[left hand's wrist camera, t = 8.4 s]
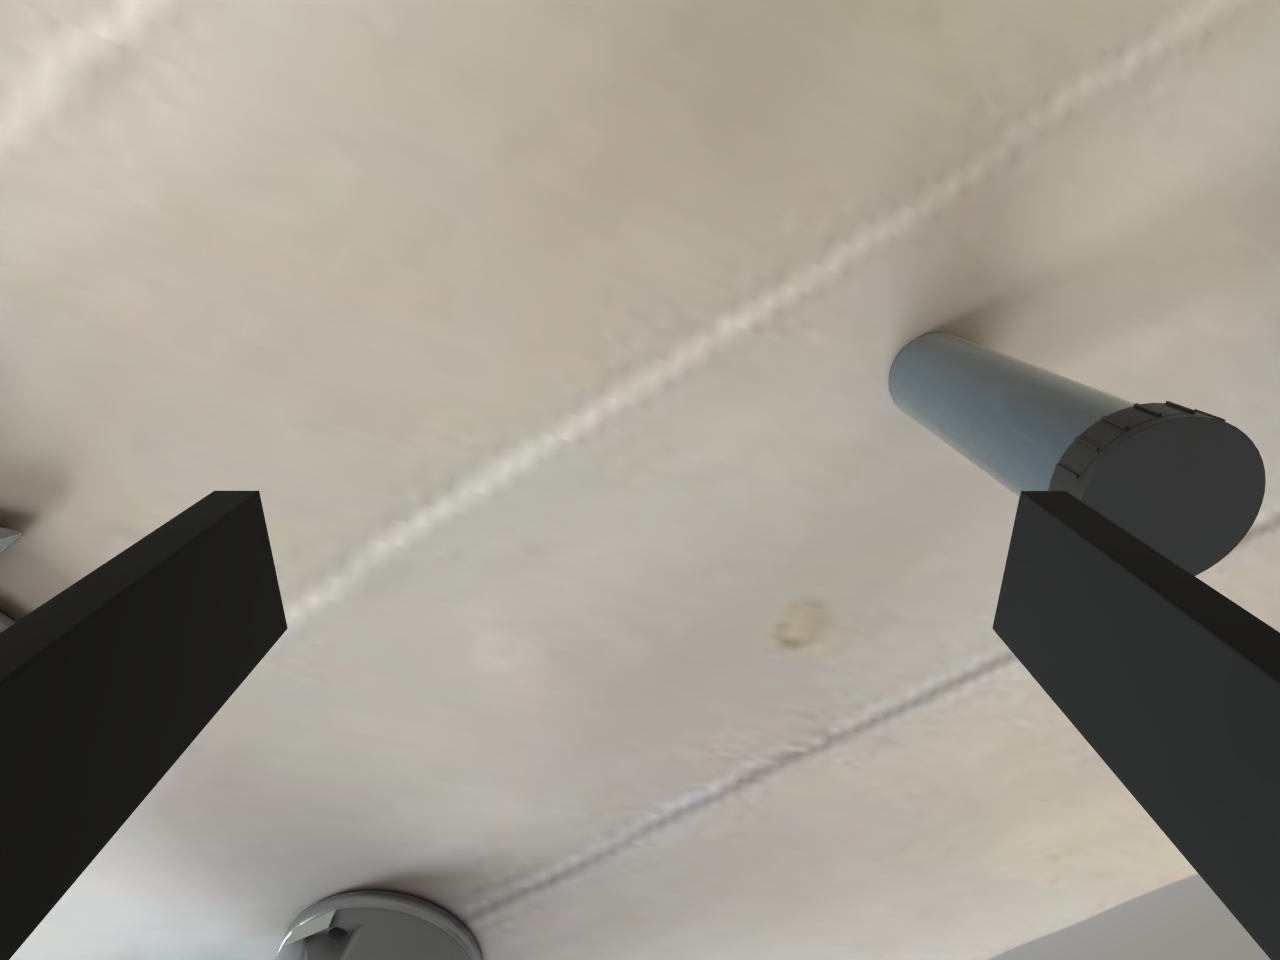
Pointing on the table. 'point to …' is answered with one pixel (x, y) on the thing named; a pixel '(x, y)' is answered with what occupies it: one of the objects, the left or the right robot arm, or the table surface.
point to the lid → (1168, 480)
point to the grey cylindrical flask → (995, 407)
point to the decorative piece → (3, 539)
